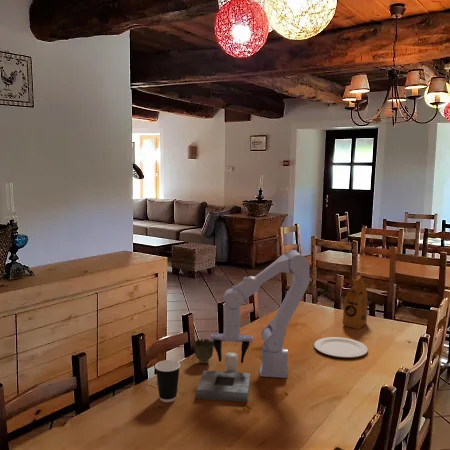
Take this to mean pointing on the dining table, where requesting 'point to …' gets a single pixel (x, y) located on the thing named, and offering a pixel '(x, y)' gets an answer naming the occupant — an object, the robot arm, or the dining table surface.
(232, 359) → the white rounded cylinder
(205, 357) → the cup
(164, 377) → the dixie cup
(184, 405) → the dining table surface
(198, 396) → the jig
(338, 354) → the plate
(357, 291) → the coffee package
